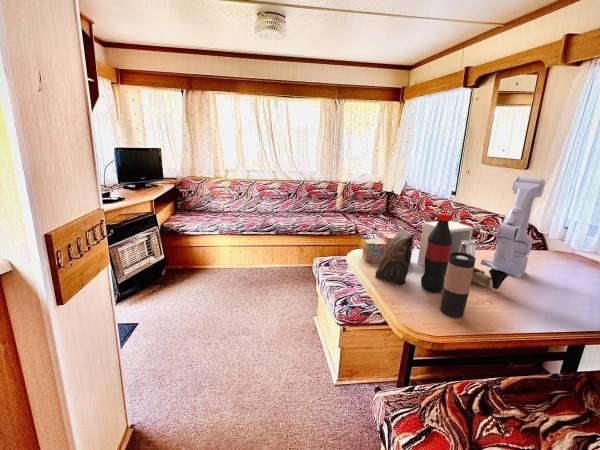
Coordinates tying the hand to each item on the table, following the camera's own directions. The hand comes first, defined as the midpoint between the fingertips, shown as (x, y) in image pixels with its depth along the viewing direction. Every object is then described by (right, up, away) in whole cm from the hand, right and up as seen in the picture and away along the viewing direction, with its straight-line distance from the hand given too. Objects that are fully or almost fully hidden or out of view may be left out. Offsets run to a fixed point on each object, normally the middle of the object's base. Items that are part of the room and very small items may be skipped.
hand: (495, 288), depth 124 cm
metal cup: (-7, +3, +14) cm, 15 cm away
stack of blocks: (-36, +8, +27) cm, 45 cm away
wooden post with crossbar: (-5, +2, +11) cm, 12 cm away
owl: (-39, +3, +7) cm, 40 cm away
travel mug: (-25, -5, -17) cm, 31 cm away
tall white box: (-11, +6, +23) cm, 26 cm away
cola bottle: (-25, 0, -1) cm, 26 cm away
